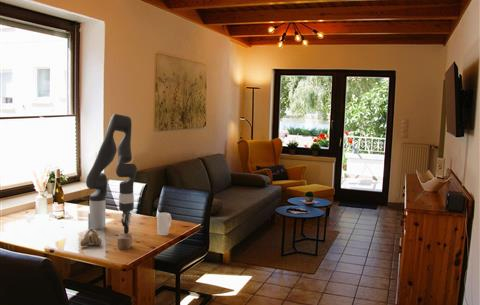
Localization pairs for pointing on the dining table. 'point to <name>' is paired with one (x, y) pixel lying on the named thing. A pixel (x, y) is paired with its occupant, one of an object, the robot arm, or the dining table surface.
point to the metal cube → (124, 240)
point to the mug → (163, 223)
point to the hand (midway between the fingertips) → (126, 232)
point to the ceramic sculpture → (91, 238)
